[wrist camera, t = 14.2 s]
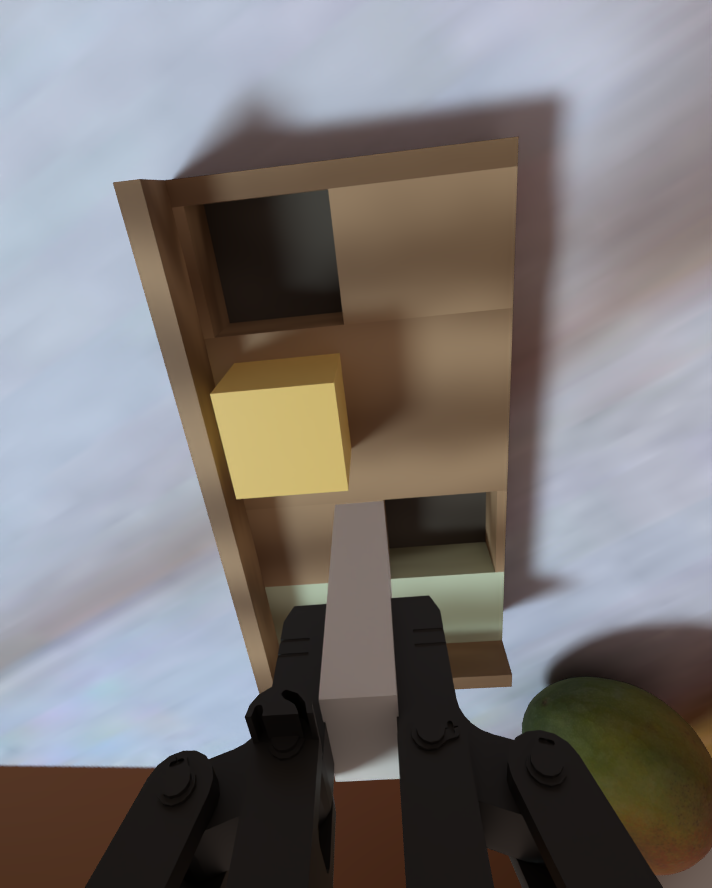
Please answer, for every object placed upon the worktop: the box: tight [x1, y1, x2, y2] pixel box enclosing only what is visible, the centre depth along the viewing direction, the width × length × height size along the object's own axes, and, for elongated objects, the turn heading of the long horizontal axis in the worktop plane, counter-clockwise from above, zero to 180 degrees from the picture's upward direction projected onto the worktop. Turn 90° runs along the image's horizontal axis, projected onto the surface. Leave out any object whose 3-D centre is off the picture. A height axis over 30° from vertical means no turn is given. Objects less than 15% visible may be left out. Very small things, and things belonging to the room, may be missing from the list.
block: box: [210, 353, 351, 499], centre depth 23 cm, size 5×5×4 cm
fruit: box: [522, 677, 712, 875], centre depth 34 cm, size 12×12×10 cm
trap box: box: [113, 137, 519, 694], centre depth 26 cm, size 28×15×6 cm, turn 6°
